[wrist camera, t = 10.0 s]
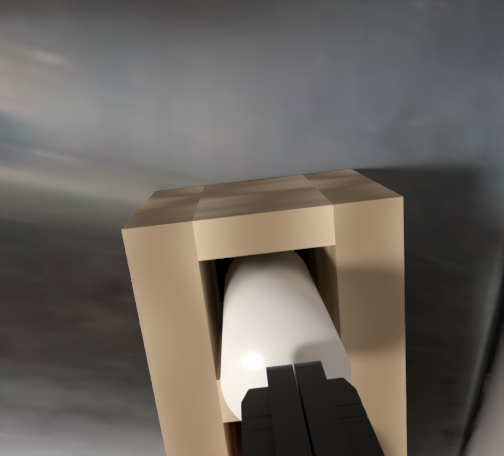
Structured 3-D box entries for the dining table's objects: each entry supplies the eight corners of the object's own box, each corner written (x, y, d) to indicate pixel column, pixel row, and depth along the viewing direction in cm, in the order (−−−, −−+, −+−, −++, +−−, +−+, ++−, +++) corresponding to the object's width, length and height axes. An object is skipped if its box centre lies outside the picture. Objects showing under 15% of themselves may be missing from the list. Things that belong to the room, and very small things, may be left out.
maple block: (213, 526, 28) (207, 659, 21) (155, 191, 22) (121, 229, 15) (367, 507, 28) (409, 633, 21) (351, 168, 22) (403, 196, 15)
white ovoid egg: (230, 327, 20) (229, 440, 13) (219, 248, 19) (212, 328, 12) (312, 317, 20) (354, 425, 13) (306, 238, 19) (348, 311, 12)
